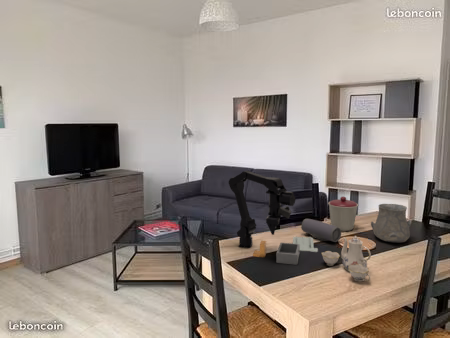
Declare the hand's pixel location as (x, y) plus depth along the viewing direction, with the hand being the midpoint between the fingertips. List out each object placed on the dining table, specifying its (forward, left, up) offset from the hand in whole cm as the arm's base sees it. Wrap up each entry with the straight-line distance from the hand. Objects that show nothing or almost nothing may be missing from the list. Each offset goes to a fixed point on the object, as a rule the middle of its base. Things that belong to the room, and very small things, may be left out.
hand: (273, 231), depth 176 cm
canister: (+36, +52, -12) cm, 64 cm away
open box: (+8, -4, -12) cm, 15 cm away
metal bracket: (+14, +14, -13) cm, 23 cm away
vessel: (+62, +37, -12) cm, 73 cm away
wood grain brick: (-7, -4, -12) cm, 14 cm away
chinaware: (+37, -11, -12) cm, 40 cm away
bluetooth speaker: (+23, +30, -12) cm, 40 cm away
